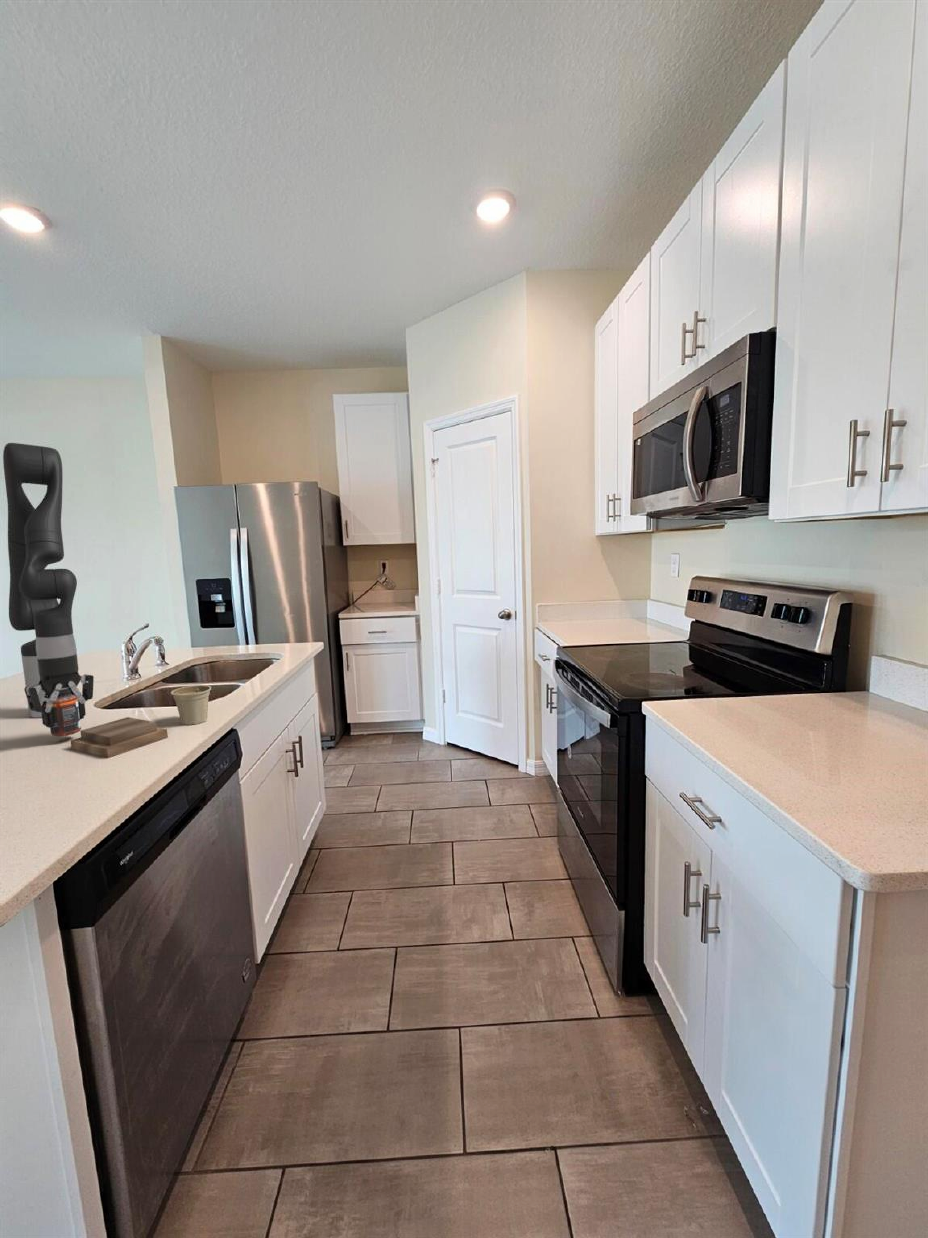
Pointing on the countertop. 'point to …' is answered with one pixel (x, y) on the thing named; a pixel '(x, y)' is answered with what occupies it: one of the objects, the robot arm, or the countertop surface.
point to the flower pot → (192, 703)
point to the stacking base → (119, 746)
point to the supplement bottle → (65, 714)
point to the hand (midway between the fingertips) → (65, 722)
